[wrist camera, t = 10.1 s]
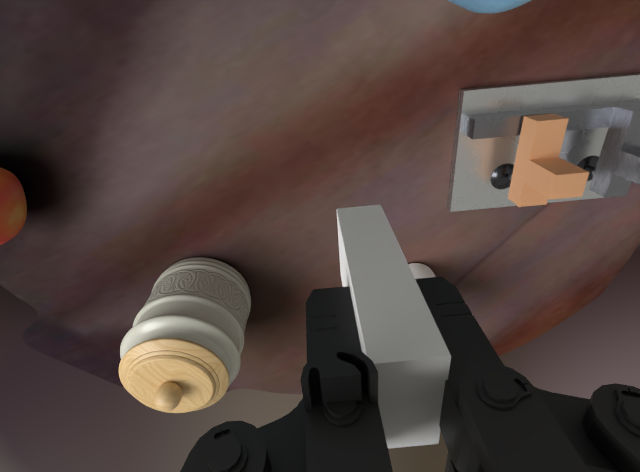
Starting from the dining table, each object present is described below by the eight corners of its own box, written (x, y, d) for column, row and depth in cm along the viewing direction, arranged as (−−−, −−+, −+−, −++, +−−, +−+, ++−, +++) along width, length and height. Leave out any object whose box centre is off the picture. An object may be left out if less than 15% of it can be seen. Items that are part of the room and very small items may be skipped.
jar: (266, 314, 53) (252, 430, 37) (185, 336, 54) (140, 457, 39) (229, 242, 46) (193, 346, 31) (139, 270, 48) (62, 382, 32)
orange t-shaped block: (512, 111, 38) (567, 132, 30) (540, 109, 38) (602, 129, 30) (498, 190, 43) (542, 226, 35) (523, 188, 43) (573, 223, 35)
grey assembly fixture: (459, 89, 38) (508, 106, 29) (645, 72, 38) (751, 84, 29) (446, 207, 45) (483, 251, 36) (603, 193, 45) (679, 233, 36)
